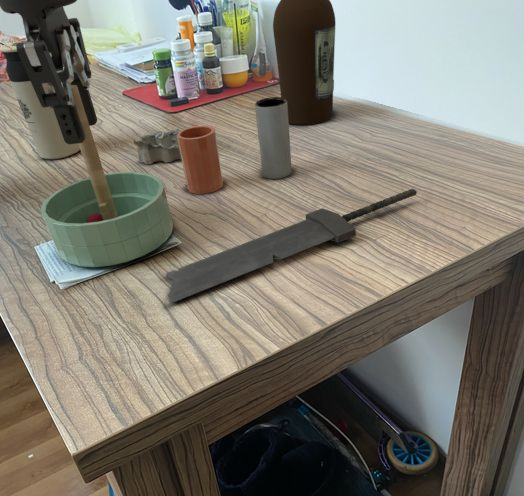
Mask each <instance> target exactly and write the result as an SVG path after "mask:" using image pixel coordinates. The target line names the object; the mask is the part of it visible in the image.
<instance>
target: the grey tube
mask: <svg viewBox="0 0 524 496" xmlns="http://www.w3.org/2000/svg"><path fill="white" fill-rule="evenodd" d="M254 107H255V108H254V109H255V117H256V119H255V120H256V128H257V136H258V137H257V138H258V146H259V154H260V155H259V157H260V163H261V165H260V166H261V172H262V173H261V174H262V177H264V178H265V179H271V180H277V179H278V180H279V179H283V178H286V177H288V176H290V175H291V174H292V171H293V169H292V168H293V167H292V155H291V154H292V153H291V140H290V139H291V138H290V123H289V122H288V107H287V100H286V99H285V98H281V96H274V97H273V96H271V97H264V98H262V99H259V100H257V101H256V102H255V103H254Z"/></svg>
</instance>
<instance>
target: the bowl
mask: <svg viewBox="0 0 524 496" xmlns="http://www.w3.org/2000/svg"><path fill="white" fill-rule="evenodd" d="M104 174H105V177H106V180H107V183H108V187H109V190H110V193H111V196H112V199H113V203H114V206H115V209H116V212H117V215H118V217H116V218H113V219H109V220H104V221H100V222H91V223H86V221H87V218H88V217H89V216H90V215H91V214H94V213H98V214H101V215H102V213H101V210H100V207H99V204H98V201H97V198H96V195H95V192H94V189H93V186H92V183H91V180H90V177H86V178H83V179H80V180H76V181H73V182H71V183H69V184H67V185H65V186H64V187H61V188H60V189H58V190H56V191H54V192H53V193H52V194H51V195H50V196H48V197H47V198H46V199H45V201H44V202H43V204H41V207H40V215H41V218H42V220H43V223H44V225H45V227H46V229H47V232H48V234H49V237H50V238H51V241H52V243H53V245H54V246H53V247H54V249H55V251H56V253H57V255H58V256H59V258H60V259H61V260H62V261H64V262H66V263H68V264H70V265H74V266H79V267H85V268H88V267H89V268H99V267H109V266H116V265H119V264H123V263H129V262H131V261H133V260H135V259H138V258H141V257H144V256H146V255H147V254H149V253H151V252H152V251H155V250H156V249H158V248H159V247H161V246H162V245H163V244H164V243H165V242H167V240H168V239H169V238H170V236H171V235H172V233H173V230H174V223H173V222H174V221H173V218H172V214H171V209H170V206H169V205H170V204H169V201H168V197H167V193H166V188H165V186H164V183H163V180H162V179H160V178H159V177H158V176H157V175H154V174H152V173H148V172H141V171H116V172H108V173H107V172H106V173H104Z"/></svg>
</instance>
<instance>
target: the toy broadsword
mask: <svg viewBox="0 0 524 496" xmlns="http://www.w3.org/2000/svg"><path fill="white" fill-rule="evenodd" d="M417 194H418V191H417V190H416V189H414V188H410V189H408V190H405V191H402V192H399V193H397V194H395V195H392V196H389V197H387V198H384V199H382V200H379V201H376V202H375V203H374V202H373V203H371V204H369V205H366V206H364V207H362V208H361V207H360V208H359V209H356V210H353V211H351V212H349V213H346V214H343V215H340V214H339V213H337V212H334V211H332V210H329V209H326V208H324V207H322V208H319V209H316V210H314V211H311V212H308V213H306V214H305V219H304V220H302V221H299V222H296V223H294V224H291V225H289V226H286V227H283V228H280V229H278V230H276V231H273V232H270V233H268V234H265V235H263V236H260V237H257V238H254V239H252V240H249V241H247V242H244V243H241V244H239V245H236V246H234V247H231V248H228V249H226V250H223V251H221V252H218V253H216V254H213V255H211V256H207V257H205V258H203V259H199V260H197V261H195V262H192V263H189V264H186V265H184V266H181V267H179V268H178V269H177V270H175V269H173V270H170V271H169V272H166V273H165V275H166V277H167V279H169V280H170V281H171V287H170V291H169V292H168V294H167V298H168V299H169V302H170V303H171V304H174V303H176V302H179V301H182V300H184V299H186V298H188V297H191V296H193V295H196V294H198V293H201V292H204V291H206V290H209V289H211V288H214V287H216V286H218V285H221V284H224V283H226V282H229V281H231V280H234V279H236V278H238V277H242V276H243V275H247V274H249V273H251V272H254V271H255V270H259V269H261V268H263V267H266V266H269V265H270V264H273V263H274V259H275V260H284V259H286V258H288V257H291V256H293V255H295V254H298V253H301V252H303V251H306V250H309V249H311V248H314V247H315V246H318V245H321V244H324V243H326V242H328V241H333V242H335V243H341V242H344V241H346V240H348V239H350V238H353V237H356V235H357V234H356V233H357V231H356V230H357V229H356V227H354V226H353V225H352V224H351V223H350V221H353V220H355V219H358V218H361V217H363V216H366V215H369V214H371V213H373V212H376V211H379V210H380V209H383V208H385V207H388V206H391V205H394V204H396V203H398V202H402V201H404V200H406V199H409V198H412V197H414V196H416V195H417Z"/></svg>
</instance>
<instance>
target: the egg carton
mask: <svg viewBox="0 0 524 496" xmlns="http://www.w3.org/2000/svg"><path fill="white" fill-rule="evenodd" d="M196 126H199V125H196ZM184 129H186V127H185V128H182V129H180V128H177V127H176V128H175V129H168V130H165V131H164V130H156V129H153V130H149V131H148V132H147V133H145V134H144V135H143V136H141V138H140V139H137V140H133V145H135V146H136V150H137V154H138V157H139V162H140V163H143V164H145V165H151V164H154V163H155V162H164V163H171V162H174V161H176V160H182V159H181V154H180V149H179V145H178V140H177V133H178V132H180V131H181V130H184Z"/></svg>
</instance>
